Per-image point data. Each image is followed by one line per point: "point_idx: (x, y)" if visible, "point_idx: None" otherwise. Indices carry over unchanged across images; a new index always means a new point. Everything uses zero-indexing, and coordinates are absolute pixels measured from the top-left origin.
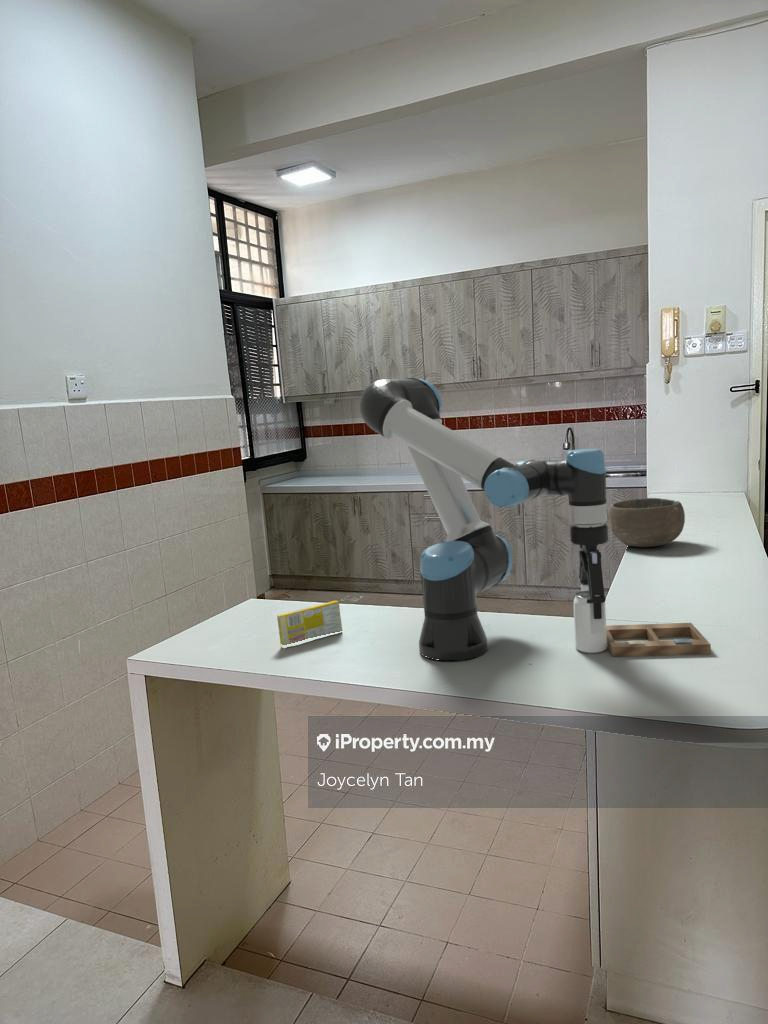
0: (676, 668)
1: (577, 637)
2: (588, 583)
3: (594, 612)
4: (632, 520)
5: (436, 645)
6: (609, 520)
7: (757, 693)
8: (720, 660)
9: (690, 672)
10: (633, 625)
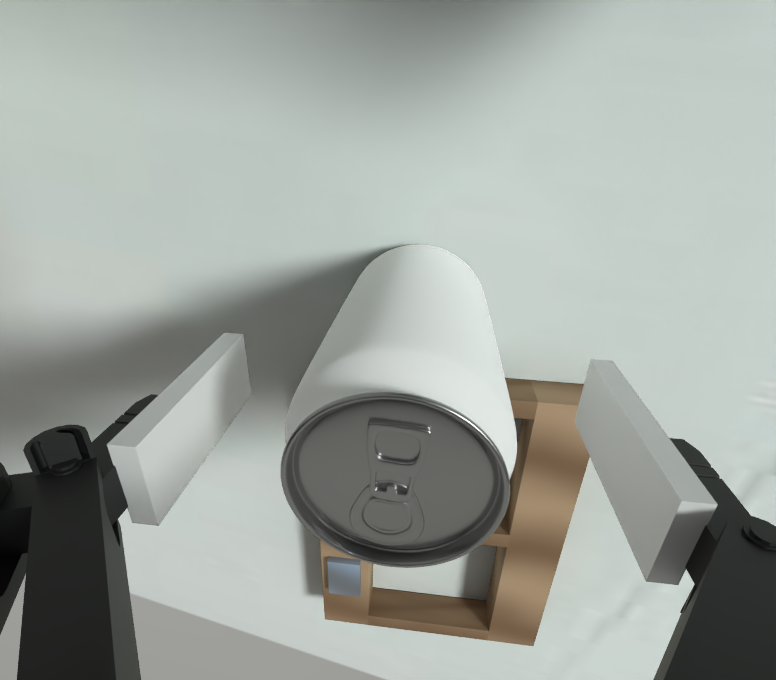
0: (220, 496)
1: (380, 267)
2: (65, 595)
3: (115, 422)
4: None
5: None
6: None
7: None
8: (283, 591)
9: (193, 514)
10: (561, 510)
